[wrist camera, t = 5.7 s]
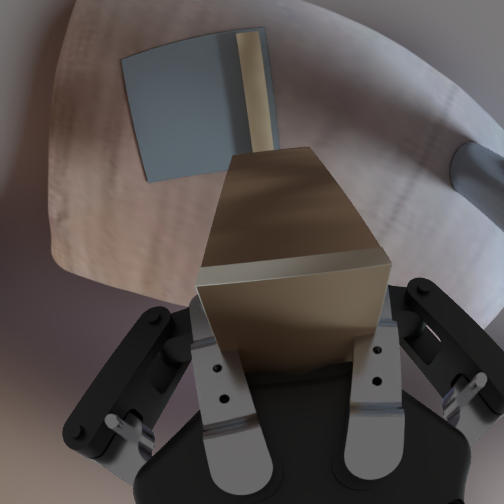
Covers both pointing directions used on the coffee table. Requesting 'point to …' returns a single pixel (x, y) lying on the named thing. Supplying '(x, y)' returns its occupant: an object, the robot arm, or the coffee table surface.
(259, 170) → the block
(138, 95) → the mat
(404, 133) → the coffee table surface
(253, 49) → the ledge
